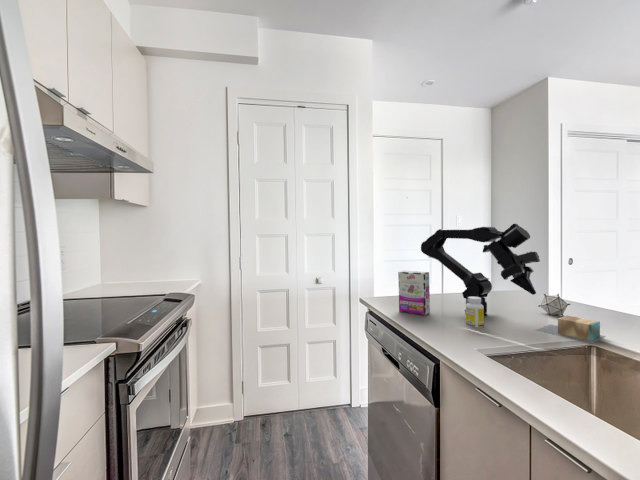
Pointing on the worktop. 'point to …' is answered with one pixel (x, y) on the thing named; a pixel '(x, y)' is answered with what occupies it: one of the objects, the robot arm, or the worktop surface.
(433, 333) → the worktop surface
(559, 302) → the game die
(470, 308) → the supplement bottle
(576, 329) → the oak block
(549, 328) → the mat
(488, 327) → the worktop surface
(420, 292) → the candy bar box
